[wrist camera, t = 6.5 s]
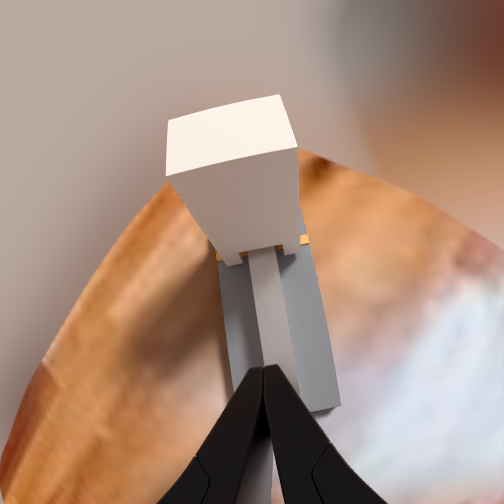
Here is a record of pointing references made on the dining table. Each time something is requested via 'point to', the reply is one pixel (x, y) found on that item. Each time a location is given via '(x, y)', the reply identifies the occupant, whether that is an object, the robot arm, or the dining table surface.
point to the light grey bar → (272, 312)
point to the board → (299, 318)
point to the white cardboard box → (238, 175)
